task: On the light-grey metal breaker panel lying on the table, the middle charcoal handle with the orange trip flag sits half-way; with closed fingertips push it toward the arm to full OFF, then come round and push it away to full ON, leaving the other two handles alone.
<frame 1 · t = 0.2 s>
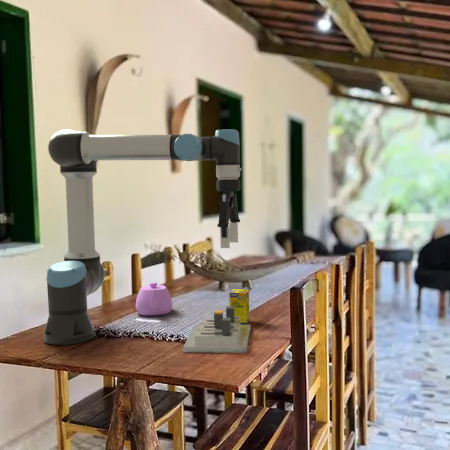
hand: (229, 245, 184), 27 cm above the table, fingers open, 13 cm apart
teapot: (154, 313, 209), on the table
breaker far: (230, 313, 180), point 6 cm above the table, slide at 6.0 cm
panel: (218, 339, 174), on the table
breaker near: (226, 325, 167), point 6 cm above the table, slide at 6.0 cm
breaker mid: (218, 318, 174), point 7 cm above the table, slide at 3.0 cm
supplement box: (239, 323, 194), on the table
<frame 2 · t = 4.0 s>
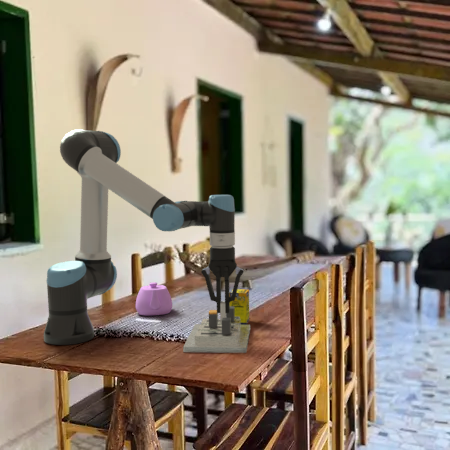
hand: (223, 323, 174), 5 cm above the table, fingers closed
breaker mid: (213, 318, 174), point 7 cm above the table, slide at 1.4 cm, touching gripper
everything else where it was.
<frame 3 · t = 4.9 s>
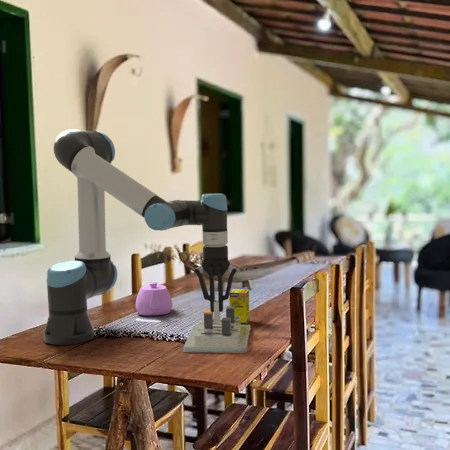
hand: (217, 322, 174), 6 cm above the table, fingers closed
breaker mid: (208, 318, 174), point 7 cm above the table, slide at -0.1 cm, touching gripper
everything else where it was.
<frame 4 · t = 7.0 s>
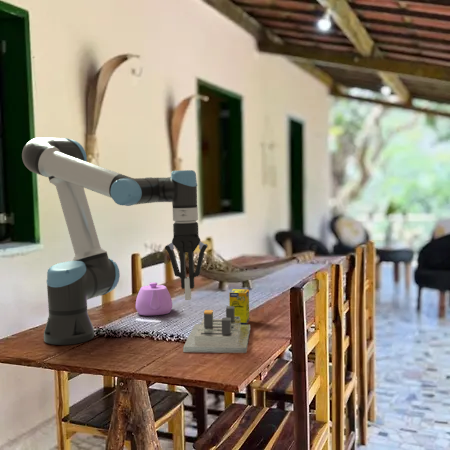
hand: (188, 299, 174), 13 cm above the table, fingers closed
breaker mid: (208, 318, 174), point 7 cm above the table, slide at -0.1 cm
everything else where it was.
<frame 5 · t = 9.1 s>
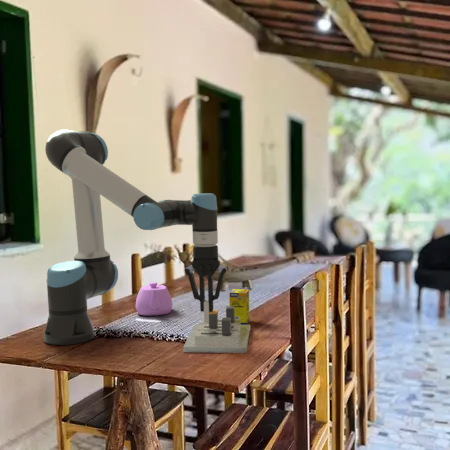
hand: (207, 321, 174), 6 cm above the table, fingers closed
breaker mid: (213, 318, 174), point 7 cm above the table, slide at 1.4 cm, touching gripper
everything else where it was.
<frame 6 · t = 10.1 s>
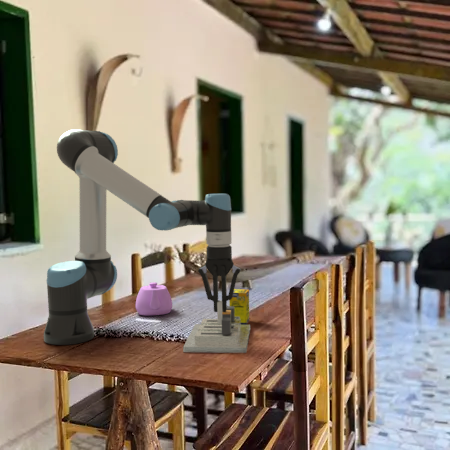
hand: (220, 322, 174), 6 cm above the table, fingers closed
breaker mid: (226, 318, 174), point 7 cm above the table, slide at 5.5 cm, touching gripper
everything else where it was.
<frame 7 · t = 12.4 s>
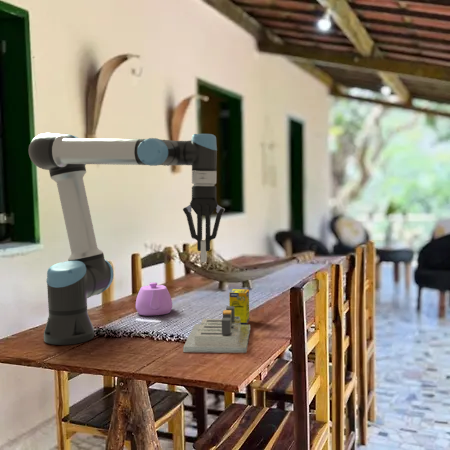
hand: (203, 261, 177), 23 cm above the table, fingers closed
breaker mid: (227, 318, 174), point 7 cm above the table, slide at 5.6 cm
everything else where it was.
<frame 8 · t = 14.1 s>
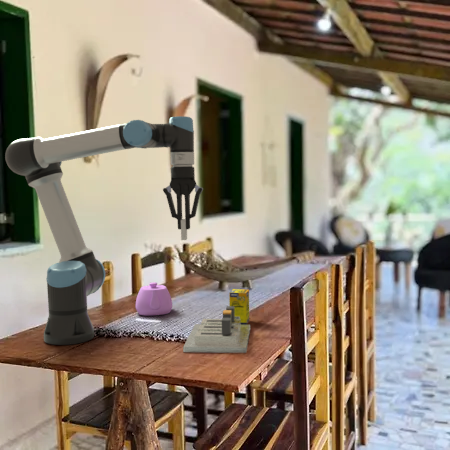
hand: (184, 239, 185), 29 cm above the table, fingers closed
nothing on the table moved.
at the end: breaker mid slide at 5.6 cm; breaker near slide at 6.0 cm; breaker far slide at 6.0 cm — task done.
